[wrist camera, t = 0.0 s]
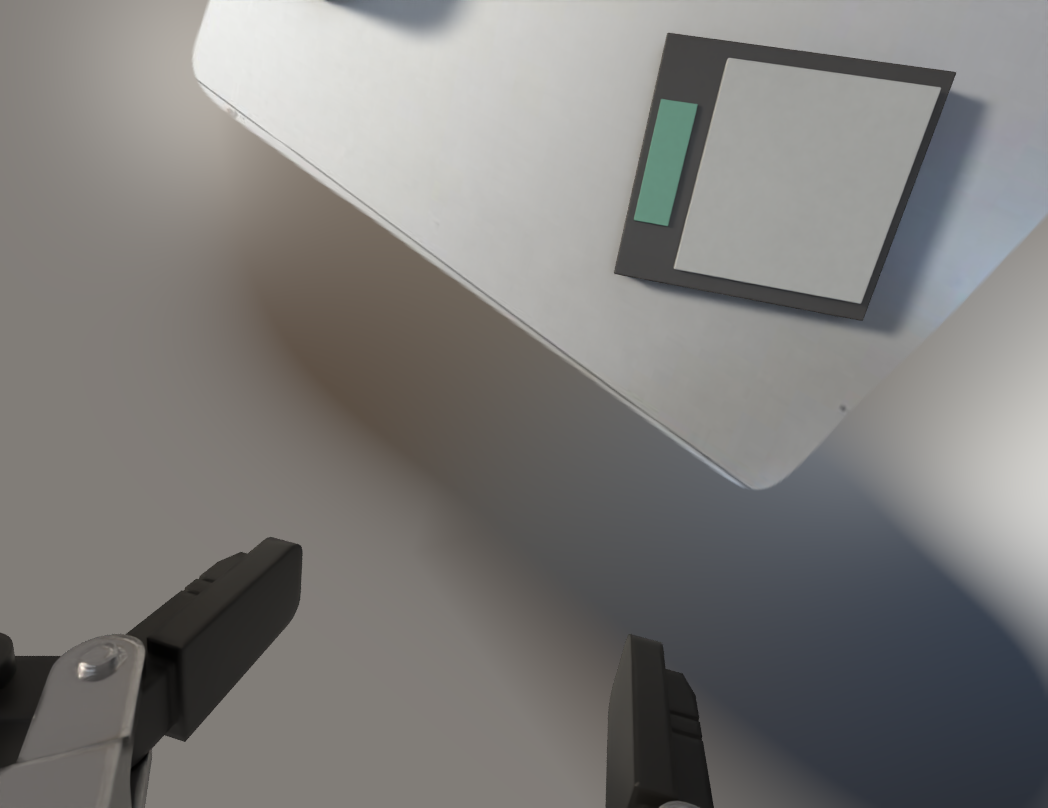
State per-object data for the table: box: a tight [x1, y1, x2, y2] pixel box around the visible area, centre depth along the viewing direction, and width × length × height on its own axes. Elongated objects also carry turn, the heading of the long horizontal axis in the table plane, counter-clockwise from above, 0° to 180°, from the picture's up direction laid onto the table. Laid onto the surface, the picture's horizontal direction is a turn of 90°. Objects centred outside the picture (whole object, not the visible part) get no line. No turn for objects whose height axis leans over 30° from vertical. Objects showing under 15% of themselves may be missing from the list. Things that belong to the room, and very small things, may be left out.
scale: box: [614, 33, 956, 321], centre depth 33 cm, size 14×16×3 cm
